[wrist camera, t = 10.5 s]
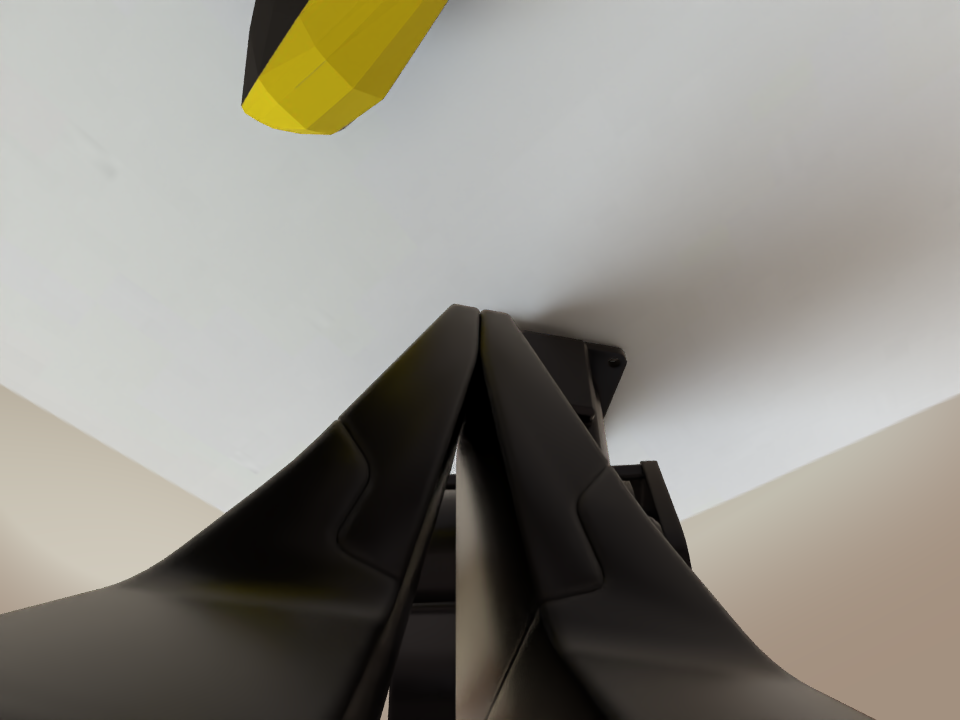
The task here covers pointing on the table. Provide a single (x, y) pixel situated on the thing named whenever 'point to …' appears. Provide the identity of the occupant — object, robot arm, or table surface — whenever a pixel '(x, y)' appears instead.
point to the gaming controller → (328, 58)
